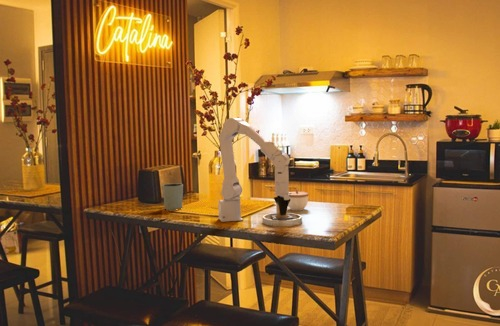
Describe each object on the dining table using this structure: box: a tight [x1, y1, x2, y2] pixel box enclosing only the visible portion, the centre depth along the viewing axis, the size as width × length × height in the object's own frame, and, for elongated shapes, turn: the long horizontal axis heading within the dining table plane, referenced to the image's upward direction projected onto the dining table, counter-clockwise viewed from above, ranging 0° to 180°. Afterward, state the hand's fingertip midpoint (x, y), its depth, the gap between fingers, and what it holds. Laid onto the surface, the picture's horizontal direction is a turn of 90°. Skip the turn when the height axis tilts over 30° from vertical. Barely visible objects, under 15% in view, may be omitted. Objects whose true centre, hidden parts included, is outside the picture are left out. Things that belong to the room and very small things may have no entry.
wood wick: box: [275, 202, 288, 218], centre depth 214 cm, size 4×2×8 cm, turn 103°
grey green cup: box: [161, 182, 184, 211], centre depth 250 cm, size 10×10×12 cm
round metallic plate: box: [261, 212, 303, 228], centre depth 215 cm, size 16×16×2 cm
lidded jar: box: [287, 189, 309, 212], centre depth 243 cm, size 11×11×9 cm
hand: (282, 214), depth 214 cm, fingers closed on wood wick, 2 cm apart
